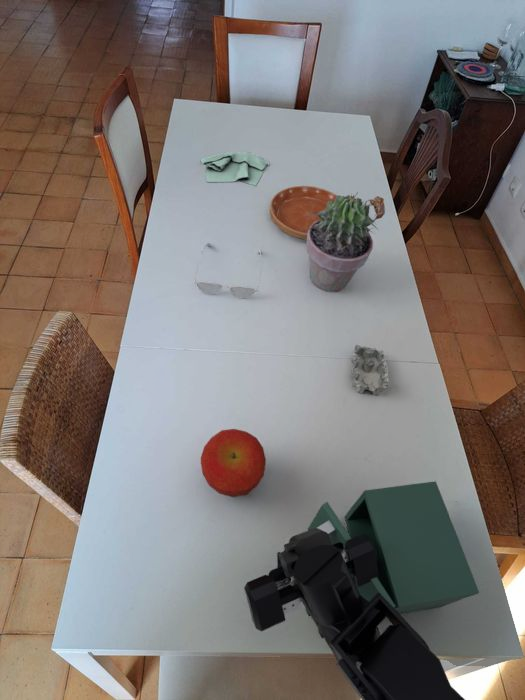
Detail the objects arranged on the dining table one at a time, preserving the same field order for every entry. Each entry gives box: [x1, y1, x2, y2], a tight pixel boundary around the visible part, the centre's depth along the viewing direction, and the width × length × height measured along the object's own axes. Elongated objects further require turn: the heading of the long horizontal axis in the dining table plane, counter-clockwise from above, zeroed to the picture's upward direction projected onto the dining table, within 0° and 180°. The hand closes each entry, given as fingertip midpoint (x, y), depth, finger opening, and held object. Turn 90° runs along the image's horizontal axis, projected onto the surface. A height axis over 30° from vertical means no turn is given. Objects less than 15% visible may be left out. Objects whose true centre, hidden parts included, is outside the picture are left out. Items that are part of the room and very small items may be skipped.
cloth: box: [199, 151, 269, 187], centre depth 142 cm, size 20×22×2 cm
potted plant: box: [299, 191, 386, 293], centre depth 107 cm, size 18×20×25 cm
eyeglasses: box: [193, 242, 263, 299], centre depth 113 cm, size 15×18×4 cm
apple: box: [200, 428, 267, 498], centre depth 78 cm, size 11×11×12 cm
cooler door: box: [307, 501, 396, 607], centre depth 68 cm, size 8×16×13 cm, turn 31°
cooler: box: [344, 480, 480, 615], centre depth 72 cm, size 12×16×13 cm
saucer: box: [269, 185, 338, 241], centre depth 129 cm, size 23×23×4 cm
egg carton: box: [351, 344, 389, 396], centre depth 98 cm, size 11×8×4 cm
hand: (292, 549), depth 70 cm, fingers open, 4 cm apart
